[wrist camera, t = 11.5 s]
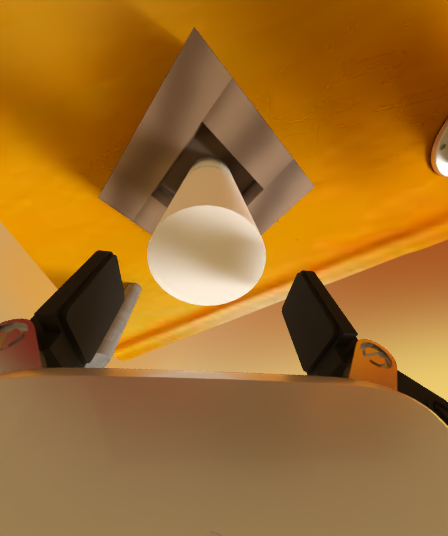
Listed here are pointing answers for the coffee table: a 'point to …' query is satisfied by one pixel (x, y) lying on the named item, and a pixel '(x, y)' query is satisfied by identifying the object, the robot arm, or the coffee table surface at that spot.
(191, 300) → the cylindrical container
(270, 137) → the walnut well block
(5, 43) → the coffee table surface
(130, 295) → the hip flask
